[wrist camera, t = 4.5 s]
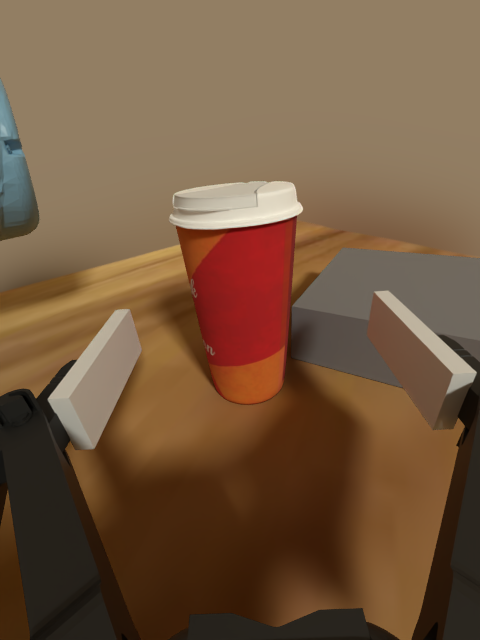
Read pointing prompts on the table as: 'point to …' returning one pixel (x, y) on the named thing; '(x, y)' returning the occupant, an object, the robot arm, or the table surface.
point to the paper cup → (241, 280)
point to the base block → (356, 299)
